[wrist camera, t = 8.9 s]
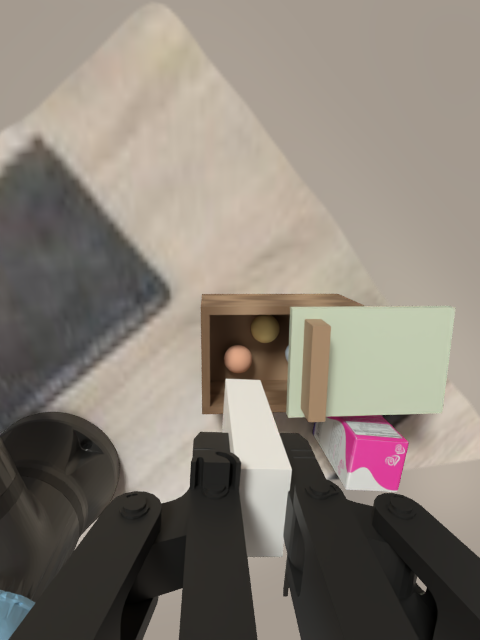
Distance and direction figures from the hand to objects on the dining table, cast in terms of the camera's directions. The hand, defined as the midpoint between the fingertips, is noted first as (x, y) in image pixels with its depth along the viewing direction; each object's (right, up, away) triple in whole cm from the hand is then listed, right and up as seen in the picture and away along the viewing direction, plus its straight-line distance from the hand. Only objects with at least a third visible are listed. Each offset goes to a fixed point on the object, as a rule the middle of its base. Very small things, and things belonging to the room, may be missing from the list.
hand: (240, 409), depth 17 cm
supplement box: (+12, -8, +33) cm, 36 cm away
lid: (+13, 0, +22) cm, 26 cm away
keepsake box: (+4, +2, +30) cm, 30 cm away
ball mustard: (+3, +3, +28) cm, 28 cm away
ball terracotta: (0, 0, +29) cm, 29 cm away
